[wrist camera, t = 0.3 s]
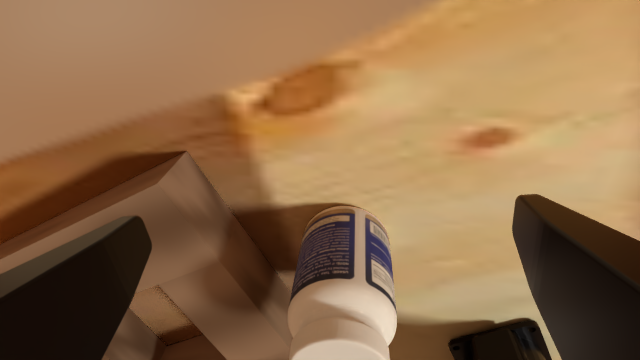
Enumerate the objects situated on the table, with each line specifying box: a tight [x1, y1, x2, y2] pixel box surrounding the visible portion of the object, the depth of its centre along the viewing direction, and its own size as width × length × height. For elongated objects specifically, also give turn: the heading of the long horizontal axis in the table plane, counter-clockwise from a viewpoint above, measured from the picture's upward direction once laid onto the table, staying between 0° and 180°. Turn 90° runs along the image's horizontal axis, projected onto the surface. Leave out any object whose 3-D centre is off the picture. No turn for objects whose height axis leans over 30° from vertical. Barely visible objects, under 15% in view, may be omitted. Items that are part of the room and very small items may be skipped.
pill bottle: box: [288, 206, 397, 360], centre depth 22 cm, size 6×6×10 cm
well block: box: [0, 151, 293, 360], centre depth 29 cm, size 20×18×4 cm
